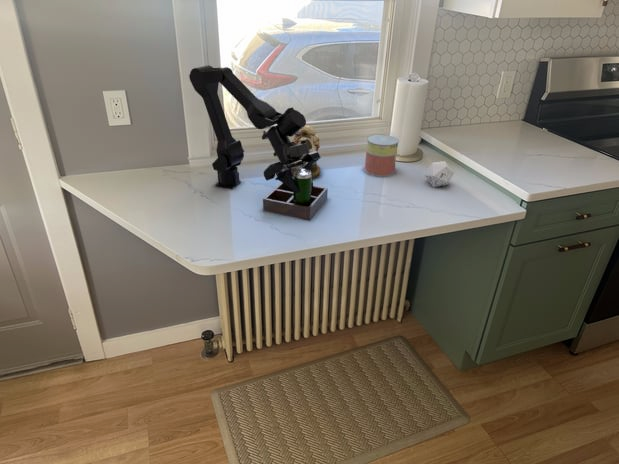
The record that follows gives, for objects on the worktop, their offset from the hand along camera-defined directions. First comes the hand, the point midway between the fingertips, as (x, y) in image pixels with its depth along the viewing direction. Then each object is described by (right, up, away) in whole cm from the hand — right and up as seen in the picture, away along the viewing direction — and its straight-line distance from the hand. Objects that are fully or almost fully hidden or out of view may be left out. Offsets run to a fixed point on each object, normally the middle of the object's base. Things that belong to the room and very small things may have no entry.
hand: (305, 190), depth 139 cm
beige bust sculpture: (-1, +10, +33) cm, 35 cm away
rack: (-3, -4, +9) cm, 10 cm away
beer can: (-1, -5, +4) cm, 7 cm away
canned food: (+27, +10, +35) cm, 46 cm away
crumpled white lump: (+46, +4, +25) cm, 53 cm away
